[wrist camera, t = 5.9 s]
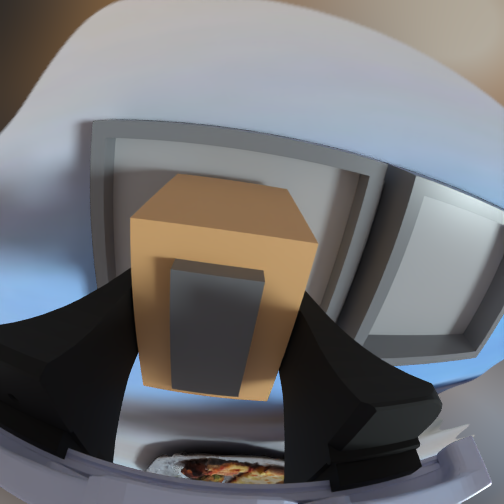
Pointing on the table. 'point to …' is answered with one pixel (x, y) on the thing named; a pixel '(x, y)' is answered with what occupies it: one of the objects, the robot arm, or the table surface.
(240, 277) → the module
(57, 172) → the table surface
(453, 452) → the robot arm
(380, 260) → the case
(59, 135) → the table surface
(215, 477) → the food plate
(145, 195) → the shallow grey tray
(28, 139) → the table surface
